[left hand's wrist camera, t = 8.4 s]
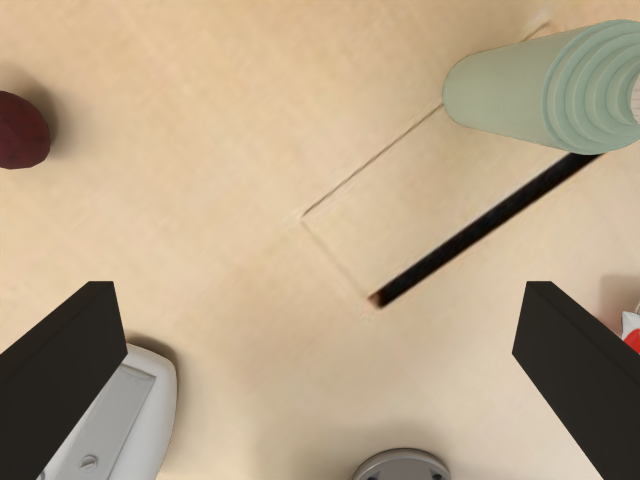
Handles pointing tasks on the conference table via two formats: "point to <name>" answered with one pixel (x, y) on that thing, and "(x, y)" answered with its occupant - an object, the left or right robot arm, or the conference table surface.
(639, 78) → the cap
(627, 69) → the bottle
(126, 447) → the projector
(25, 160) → the dark red ball
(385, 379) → the conference table surface
